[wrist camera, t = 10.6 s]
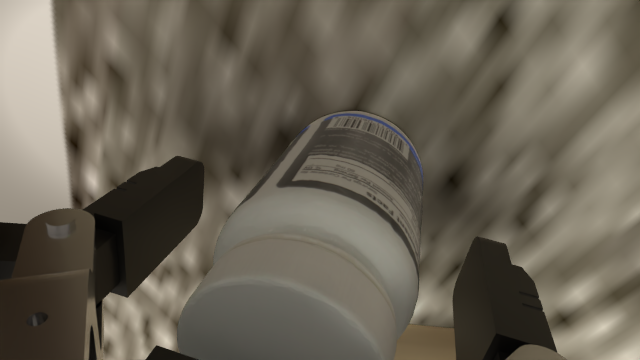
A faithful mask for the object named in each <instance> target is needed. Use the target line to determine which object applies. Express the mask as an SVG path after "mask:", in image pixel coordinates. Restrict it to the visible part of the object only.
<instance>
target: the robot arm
mask: <svg viewBox="0 0 640 360" xmlns="http://www.w3.org/2000/svg"><path fill="white" fill-rule="evenodd" d="M203 189H204V165H203V163H202V162H199V161H196V160H192V159H188V158H184V157H181V156H175V157H174V158H172V159H171V160H169V161H168V162H167V163H165V164H164V165H162V166H161V167H154V168H151V169H148V170H145V171H141V172H139V173H137V174H136V175H134V176H133V177H131V178H130V179H128V180H127V182H124V183H122V184H121V185H119V186H118V187H117V189H113V190H112V191H110V192H109V193H107V194H106V195H104V196H103V197H101V198H100V199H98V200H97V201H95V202H94V203H92V204H91V205H89V206H88V207H86V208H85V209H83V210H80V209H71V208H67V209H56V210H52V211H48V212H45V213H42V214H40V215H38V216H36V217H34V218H33V219H31V220H30V221H29V222H28V223H27V224H17V223H2V222H0V360H103V344H104V303H103V299H104V298H105V297H106V296H107V295H108V294H109V293H110V292H112V293H115V294H118V295H121V296H124V297H127V298H128V297H129V295H130V294H131V293H132V292H133V291H134V290H135V289H136V288H137V287H138V286H139V285H140V284H141V283H142V282H143V281H144V280H145V279H146V278H147V277H148V276H149V275H150V273H151V272H152V271H153V270H154V269H155V268H156V267H157V266H158V265H159V264H160V263H161V262H162V261H163V260H164V259H165V258H166V257H167V256H168V255H169V254H170V253H171V251H172V250H173V249H174V248H175V247H176V246H177V245H178V244H179V243H180V242H181V241H182V240H183V239H184V238H185V237H186V236H187V235H188V234H189V233H190V232H191V231H192V229H193V228H194V227H195V226H196V225H197V223H198V221H199V219H200V217H201V214H202V209H203ZM538 298H539V295H538V292H537V289H536V286H535V283H534V281H533V280H532V279H531V278H530V277H529V275H528V274H527V273H526V272H525V271H524V269H523V268H522V267H519V266H515V265H512V264H511V260H510V257H509V253H508V249H507V246H506V244H504V243H500V242H497V241H493V240H489V239H485V238H482V237H478V236H477V237H476V238H475V239H474V240H473V242H472V244H471V247H470V249H469V252H468V254H467V256H466V259H465V261H464V264H463V266H462V269H461V271H460V273H459V276H458V278H457V281H456V284H455V288H454V293H453V316H454V332H455V349H456V360H567V359H566V358H564V357H563V356H561V355H560V354H558V353H557V350H556V347H555V344H554V341H553V338H552V335H551V332H550V329H549V326H548V323H547V320H546V316H545V313H544V312H542V311H543V307H542V304H541V301H540V300H539V299H538ZM146 360H198V359H195V358H192V357H189V356H187V355H184V354H181V353H178V352H175V351H172V350H169V349H166V348H163V347H160V346H157V345H156V347H155V348H154V349H153V350H152V352H151V353H150V354H149V356H148V357H147V358H146Z"/></svg>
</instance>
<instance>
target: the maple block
mask: <svg viewBox="0 0 640 360" xmlns="http://www.w3.org/2000/svg"><path fill="white" fill-rule="evenodd" d="M394 360H456V349H455V332H454V328H444V327H434V326H423V325H413V324H408V326H407V328H406V330H405V331H404V332H403V334H402V335H401V336H400V338H399V339H398V340H397V346H396V352H395V357H394Z"/></svg>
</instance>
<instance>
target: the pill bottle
mask: <svg viewBox="0 0 640 360" xmlns="http://www.w3.org/2000/svg"><path fill="white" fill-rule="evenodd" d="M422 194H423V170H422V165H421V161H420V158H419V156H418V153H417V151H416V149H415V147H414V146H413V144H412V142H411V141H410V140H409V138H408V137H407V136H406V135H405V134H404V133H403V132H402V131H401V130H400V129H399V128H398V127H397V126H396V125H394V124H393V123H391V122H389V121H388V120H386V119H384V118H381V117H379V116H376V115H374V114H370V113H367V112H362V111H344V112H337V113H333V114H329V115H326V116H324V117H321V118H319V119H317V120H316V121H314V122H312V123H311V124H309V125H308V126H307V127H306V128H305V129H303V130H302V131H301V132H300V133H299V134H298V136H297V137H296V138H295V139H294V140H293V141H292V142H291V143H290V145H289V146H288V148H287V149H286V150H285V151H284V152H283V154H282V155H281V156H280V157H279V158H278V160H277V161H276V162H275V163H274V164H273V165H272V166H271V168H270V169H269V170H268V171H267V173H266V174H265V175H264V176H263V178H262V179H261V180H260V181H259V182H258V184H257V185H256V186H255V187H254V188H253V189H252V191H251V192H250V193H249V194H248V195H247V197H246V198H245V199H244V200H243V201H242V202H241V203H240V205H239V206H238V207H237V208H236V209H235V211H234V212H233V213H232V214H231V216H230V217H229V218H228V220H227V221H226V223H225V225H224V227H223V229H222V230H221V232H220V235H219V237H218V240H217V243H216V247H215V252H214V261H213V267H212V268H211V269H210V271H209V272H208V274H207V275H206V276H205V278H204V279H203V281H202V282H201V283H200V285H199V286H198V287H197V289H196V290H195V291H194V293H193V294H192V295H191V297H190V298H189V300H188V302H187V303H186V305H185V307H184V309H183V311H182V313H181V316H180V319H179V322H178V329H177V342H178V348H179V351H180V353H181V354H184V355H187V356H189V357H192V358H195V359H198V360H394V357H395V352H396V346H397V340H398V339H399V338H400V336H401V335H402V334H403V332H404V331H405V330H406V328H407V326H408V324H409V322H410V320H411V318H412V316H413V313H414V309H415V306H416V302H417V298H418V290H419V258H420V234H421V231H420V230H421V221H422Z"/></svg>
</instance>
